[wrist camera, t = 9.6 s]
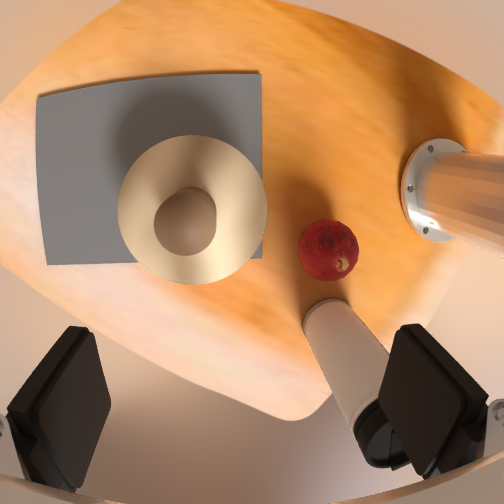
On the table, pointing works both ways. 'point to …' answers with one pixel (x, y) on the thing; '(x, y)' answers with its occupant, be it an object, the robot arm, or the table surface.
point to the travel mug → (355, 377)
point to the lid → (192, 209)
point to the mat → (127, 150)
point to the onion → (328, 250)
